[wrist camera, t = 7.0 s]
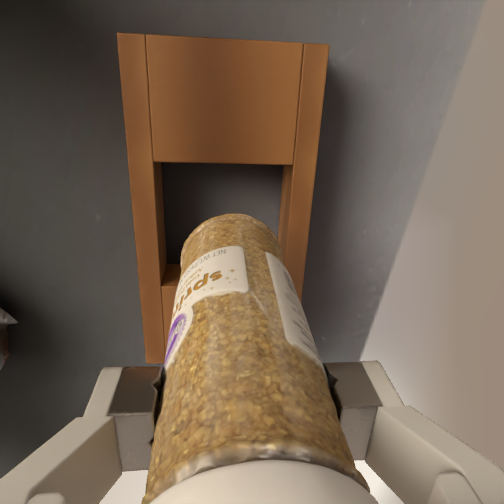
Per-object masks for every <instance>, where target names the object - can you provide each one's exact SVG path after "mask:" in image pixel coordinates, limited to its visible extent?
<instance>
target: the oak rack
mask: <svg viewBox="0 0 504 504" xmlns="http://www.w3.org/2000/svg"><path fill="white" fill-rule="evenodd" d="M117 44H118V55H119V66H120V77H121V88H122V99H123V110H124V121H125V133H126V144H127V155H128V166H129V177H130V188H131V199H132V210H133V221H134V232H135V243H136V254H137V265H138V276H139V287H140V298H141V309H142V320H143V331H144V343H145V354H146V363H147V364H152V363H164V362H165V356H166V350H167V343H168V337H169V331H170V326H171V321H172V315H173V308H174V302H175V296H176V291H177V287H178V284H179V281H180V275H181V270H182V269H181V264H167V260H166V242H165V224H164V206H163V188H162V170H161V162H182V163H225V164H268V165H283V176H282V189H281V202H280V216H279V229H278V241H279V244H280V246H281V248H282V253H283V263H284V265H285V267H286V269H287V271H288V272H289V274H290V276H291V279H292V282H293V284H294V287H295V290H296V293H297V295H298V298H299V300H300V303H301V299H302V290H303V281H304V272H305V263H306V254H307V245H308V236H309V227H310V218H311V209H312V200H313V191H314V182H315V173H316V164H317V155H318V146H319V137H320V128H321V119H322V110H323V101H324V92H325V83H326V74H327V65H328V56H329V47H330V46H329V45H328V44H314V43H304V44H303V43H295V42H277V41H259V40H241V39H223V38H205V37H187V36H169V35H151V34H147V35H145V34H135V33H117Z"/></svg>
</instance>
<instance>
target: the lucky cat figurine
mask: <svg viewBox="0 0 504 504" xmlns="http://www.w3.org/2000/svg"><path fill="white" fill-rule="evenodd" d="M14 323H18V321H16V320H15V319H14V318H13V317H12V316H10V315H9V314H8V313H7V312H5V311H4V310H3V309H1V308H0V371H1V368H2V367H3V365H4V363H5V361H6V358H7V357H8V356H9V351H8V340H7V332H8V324H14Z"/></svg>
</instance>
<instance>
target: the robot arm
mask: <svg viewBox="0 0 504 504" xmlns="http://www.w3.org/2000/svg"><path fill="white" fill-rule="evenodd" d="M323 367H324V370H325V373H326V376H327V379H328V384H329V390H330V394H331V397H332V399H333V402H334V404H335V407H336V411H337V416H338V419H339V422H340V424H341V427H342V430H343V434H344V436H345V438H346V441H347V444H348V447H349V449H350V451H351V454H352V456H353V460H365V462H366V463H367V464H368V465H369V467H370V468H371V469H372V470H373V471H374V472H375V473H376V474H377V475H378V476H379V477H380V478H381V479H382V480H383V481H384V482H385V483H386V484H387V486H388V487H390V488H391V490H392V491H393V492H394V493H395V494H396V495H397V496H398V497H399V498H400V499H401V500H402V501H403V502H404V503H405V504H504V470H503V469H502V468H501V467H499V466H498V465H496V464H495V463H494V462H492V461H491V460H489V459H488V458H486V457H485V456H483V455H482V454H480V453H479V452H477V451H476V450H474V449H473V448H471V447H470V446H469V445H467V444H466V443H464V442H463V441H461V440H460V439H458V438H457V437H455V436H454V435H452V434H451V433H449V432H448V431H446V430H445V429H444V428H442V427H440V426H439V425H438V424H436V423H435V422H433V421H432V420H430V419H429V418H427V417H426V416H424V415H423V414H421V413H420V412H419V411H417V410H415V409H414V408H412V407H411V406H404V404H403V402H402V401H401V399H400V397H399V395H398V393H397V392H396V390H395V388H394V386H393V385H392V383H391V382H390V379H389V378H388V376H387V374H386V372H385V371H384V369H383V367H382V365H381V364H380V363H379V362H378V361H359V362H336V363H323ZM163 371H164V368H163V367H104V368H103V370H102V371H101V372H100V375H99V377H98V380H97V382H96V385H95V388H94V390H93V393H92V395H91V398H90V400H89V403H88V405H87V408H86V410H85V413H84V415H83V417H76V418H75V419H74V420H73V421H72V422H70V423H69V424H68V425H67V426H65V427H64V428H63V429H62V430H60V431H59V432H58V433H57V434H55V435H54V436H53V437H52V438H51V439H49V440H48V441H47V442H46V443H44V444H43V445H42V446H41V447H39V448H38V449H37V450H36V451H34V452H33V453H32V454H31V455H30V456H28V457H27V458H26V459H25V460H23V461H22V462H21V463H20V464H18V465H17V466H16V467H15V468H13V469H12V470H11V471H10V472H9V473H7V474H6V475H5V476H4V477H2V478H1V479H0V504H99V503H100V501H101V500H102V499H103V497H104V496H105V495H106V494H107V492H108V491H109V490H110V489H111V487H112V486H113V485H114V484H115V482H116V481H117V480H118V478H119V477H120V476H121V475H122V472H124V471H137V470H149V466H150V460H151V450H152V444H153V443H154V434H155V428H156V420H157V414H158V411H159V402H160V398H161V394H162V386H163Z"/></svg>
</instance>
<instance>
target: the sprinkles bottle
mask: <svg viewBox="0 0 504 504" xmlns="http://www.w3.org/2000/svg"><path fill="white" fill-rule="evenodd" d="M181 269H182V270H181V275H180V281H179V284H178V287H177V291H176V296H175V302H174V308H173V315H172V321H171V326H170V331H169V337H168V343H167V350H166V356H165V362H164V371H163V386H162V394H161V398H160V402H159V411H158V414H157V420H156V428H155V434H154V443H153V444H152V450H151V460H150V466H149V470H148V476H147V483H146V494H145V496H144V497H143V500H142V504H378V502H377V501H376V499H375V498H374V497H373V496H372V495H371V494H370V489H369V486H368V484H367V482H366V480H365V479H364V477H363V476H362V474H361V473H360V472H359V471H358V470H357V469H356V468H355V463H354V460H353V456H352V454H351V451H350V449H349V447H348V444H347V441H346V438H345V436H344V434H343V430H342V427H341V424H340V422H339V419H338V416H337V411H336V407H335V404H334V402H333V399H332V397H331V394H330V390H329V384H328V379H327V376H326V373H325V370H324V367H323V364H322V362H321V359H320V356H319V353H318V351H317V348H316V345H315V342H314V339H313V336H312V334H311V331H310V328H309V325H308V322H307V319H306V317H305V314H304V311H303V309H302V306H301V303H300V300H299V298H298V295H297V293H296V290H295V287H294V284H293V282H292V279H291V276H290V274H289V272H288V271H287V269H286V267H285V265H284V263H283V253H282V248H281V246H280V244H279V241H278V239H277V237H276V236H275V234H274V233H273V232H272V231H271V230H270V229H269V228H268V227H267V226H266V225H265V224H264V223H263V222H260V221H258V220H257V219H255V218H253V217H251V216H248V215H245V214H225V215H221V216H217V217H213V218H211V219H209V220H207V221H205V222H203V223H201V224H200V225H199V226H198V227H197V228H196V229H195V230H194V231H193V232H192V234H190V235H189V237H188V239H187V240H186V241H185V243H184V246H183V249H182V252H181Z"/></svg>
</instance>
